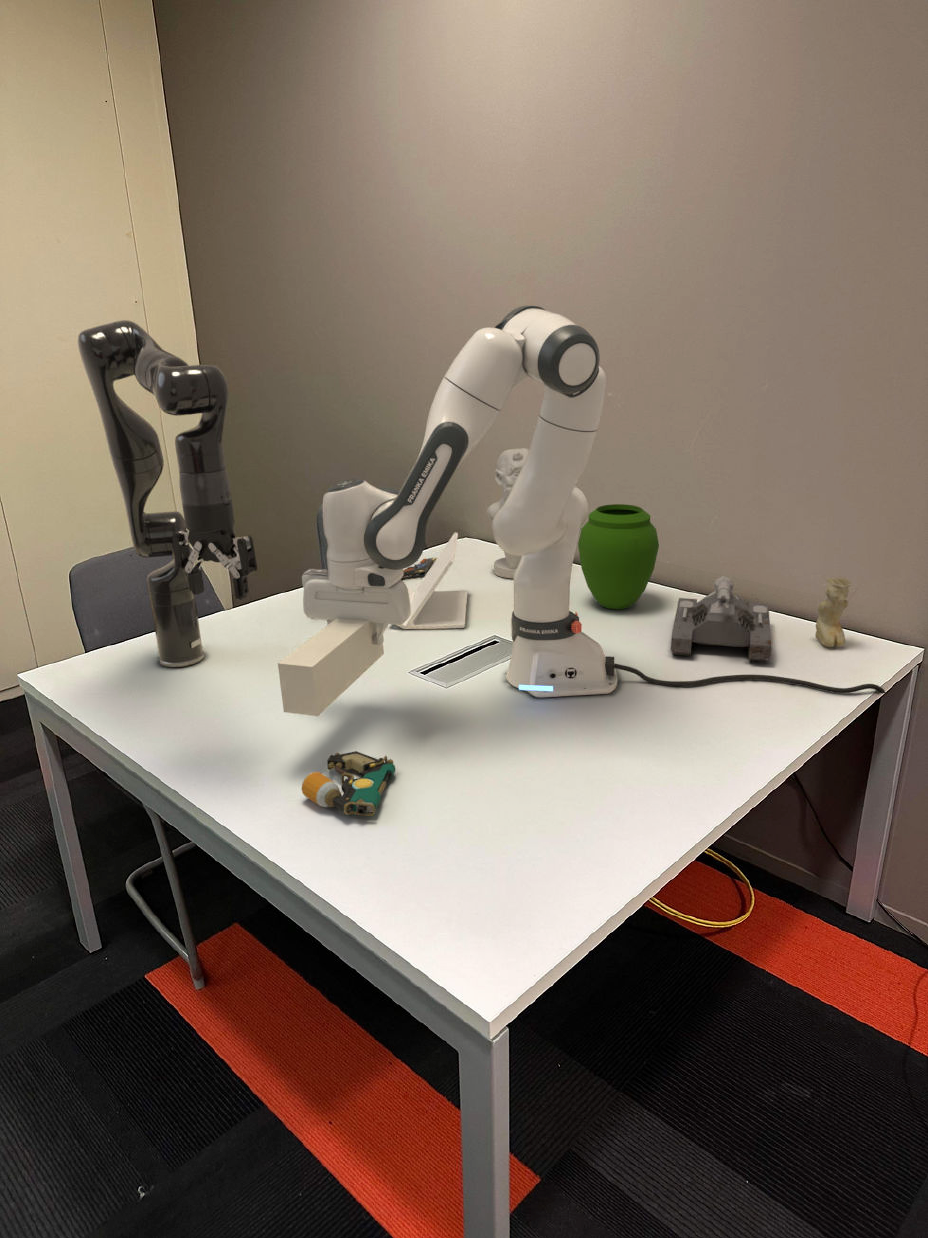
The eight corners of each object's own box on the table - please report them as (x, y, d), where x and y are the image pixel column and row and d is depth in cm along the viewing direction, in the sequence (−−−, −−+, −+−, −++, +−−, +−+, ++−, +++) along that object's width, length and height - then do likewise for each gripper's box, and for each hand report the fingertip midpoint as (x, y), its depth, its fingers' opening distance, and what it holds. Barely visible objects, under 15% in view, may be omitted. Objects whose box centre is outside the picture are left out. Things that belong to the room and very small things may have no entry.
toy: (677, 617, 205) (681, 557, 199) (765, 624, 199) (772, 562, 194) (670, 658, 182) (674, 591, 177) (769, 667, 176) (776, 598, 171)
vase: (599, 587, 227) (601, 497, 218) (668, 600, 216) (673, 505, 208) (562, 608, 212) (564, 513, 204) (634, 623, 202) (639, 523, 193)
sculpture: (821, 649, 184) (830, 583, 179) (808, 637, 191) (816, 573, 185) (848, 649, 184) (858, 582, 179) (834, 636, 191) (843, 572, 185)
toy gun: (388, 572, 237) (422, 569, 235) (405, 557, 255) (437, 554, 253) (389, 581, 238) (424, 578, 235) (406, 566, 255) (438, 563, 253)
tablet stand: (467, 593, 225) (465, 531, 219) (465, 628, 202) (462, 559, 196) (399, 594, 226) (395, 532, 220) (388, 629, 203) (384, 560, 197)
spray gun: (343, 760, 147) (420, 780, 141) (284, 805, 132) (367, 829, 126) (342, 738, 145) (420, 757, 140) (283, 780, 131) (367, 804, 125)
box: (354, 651, 164) (350, 608, 161) (384, 654, 162) (380, 610, 159) (283, 712, 140) (277, 663, 137) (317, 716, 138) (312, 666, 135)
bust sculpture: (503, 593, 225) (502, 460, 212) (483, 567, 247) (480, 445, 234) (562, 587, 228) (563, 456, 215) (536, 562, 250) (536, 441, 237)
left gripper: (153, 500, 133) (169, 598, 139) (229, 506, 128) (242, 608, 133) (185, 490, 139) (199, 584, 145) (258, 495, 134) (270, 593, 140)
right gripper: (292, 573, 154) (301, 644, 158) (398, 578, 148) (404, 652, 152) (308, 563, 159) (316, 632, 164) (411, 568, 153) (416, 639, 158)
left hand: (220, 595), depth 139 cm, fingers open, 8 cm apart
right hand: (359, 642), depth 158 cm, fingers closed on box, 6 cm apart
